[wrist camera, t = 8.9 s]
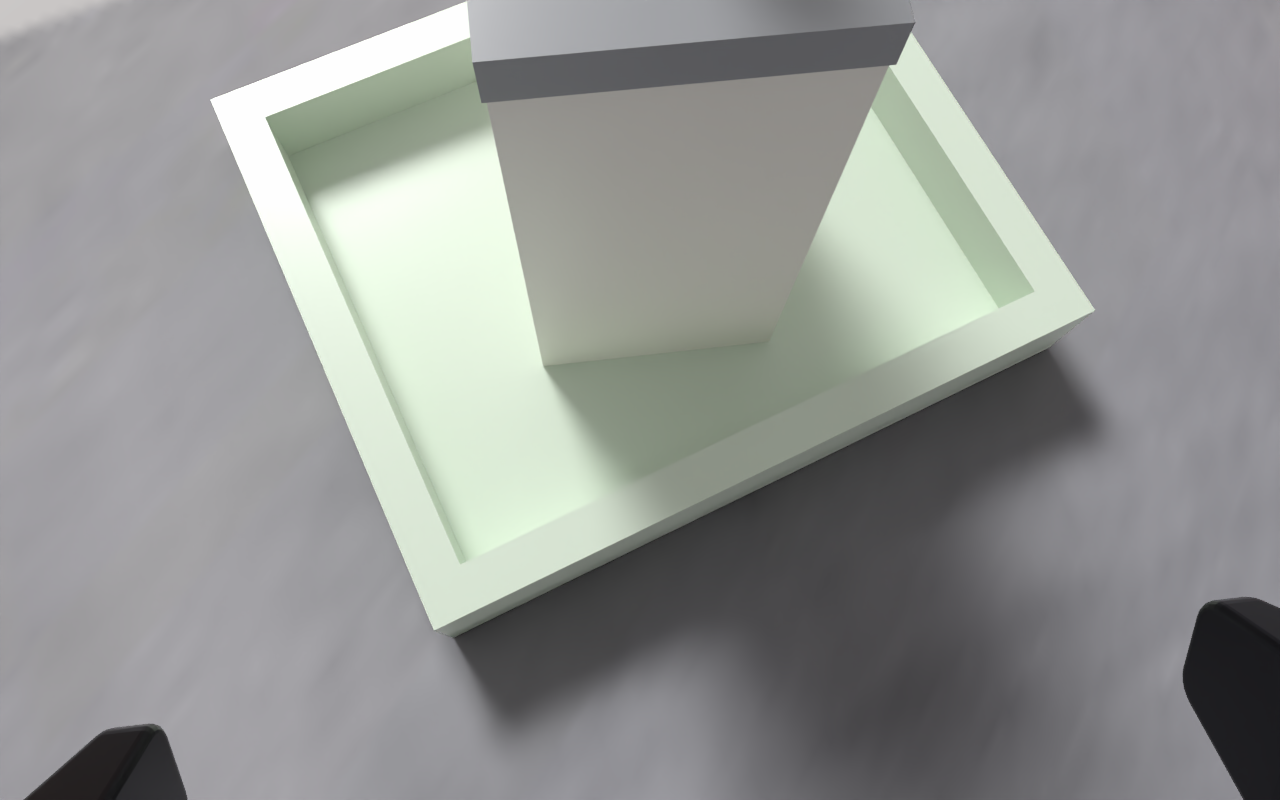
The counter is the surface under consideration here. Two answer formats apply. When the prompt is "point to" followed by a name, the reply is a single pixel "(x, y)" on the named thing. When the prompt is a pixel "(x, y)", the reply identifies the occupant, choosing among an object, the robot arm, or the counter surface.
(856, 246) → the tray
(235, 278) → the counter surface
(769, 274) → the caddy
